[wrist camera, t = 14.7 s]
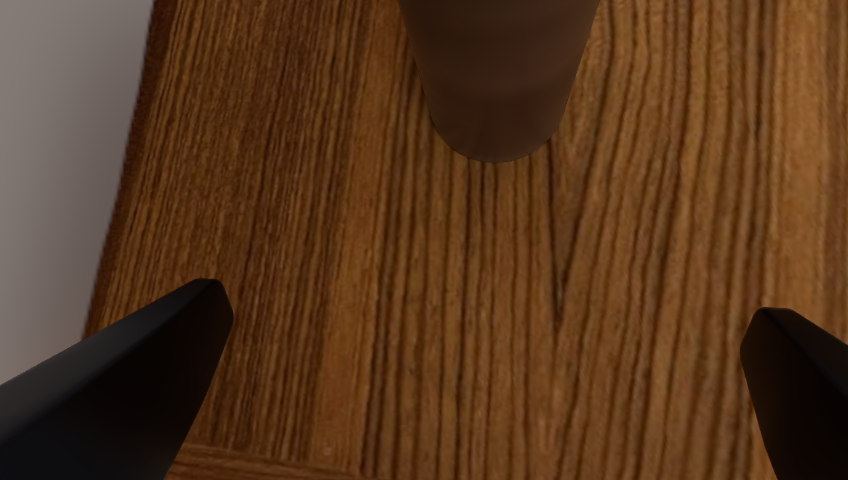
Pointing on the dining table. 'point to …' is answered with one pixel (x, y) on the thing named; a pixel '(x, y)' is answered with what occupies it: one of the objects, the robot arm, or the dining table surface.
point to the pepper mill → (497, 69)
